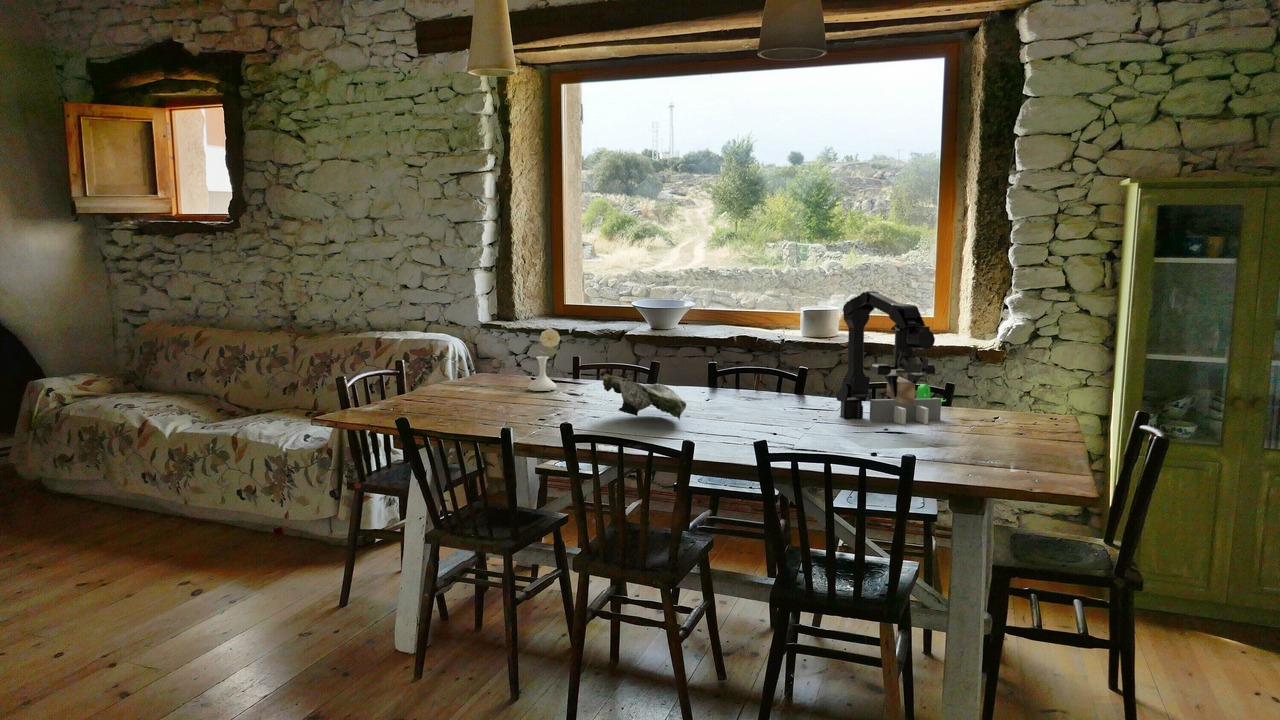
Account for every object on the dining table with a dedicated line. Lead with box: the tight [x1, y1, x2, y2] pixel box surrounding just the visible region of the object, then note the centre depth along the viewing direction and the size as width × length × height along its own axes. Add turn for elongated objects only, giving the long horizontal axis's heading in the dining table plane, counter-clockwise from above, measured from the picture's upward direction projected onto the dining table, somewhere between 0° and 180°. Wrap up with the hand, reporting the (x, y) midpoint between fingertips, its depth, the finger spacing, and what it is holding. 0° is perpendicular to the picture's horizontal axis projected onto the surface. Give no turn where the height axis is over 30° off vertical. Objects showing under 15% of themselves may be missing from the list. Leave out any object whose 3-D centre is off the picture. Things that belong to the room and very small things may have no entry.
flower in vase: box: [527, 328, 561, 392], centre depth 342 cm, size 13×11×25 cm
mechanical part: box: [916, 383, 947, 403], centre depth 318 cm, size 12×6×8 cm, turn 130°
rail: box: [886, 376, 916, 404], centre depth 268 cm, size 4×16×6 cm, turn 179°
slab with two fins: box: [869, 397, 942, 425], centre depth 284 cm, size 24×8×7 cm, turn 99°
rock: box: [602, 373, 687, 421], centre depth 286 cm, size 29×30×15 cm
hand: (902, 396), depth 266 cm, fingers closed on rail, 4 cm apart
